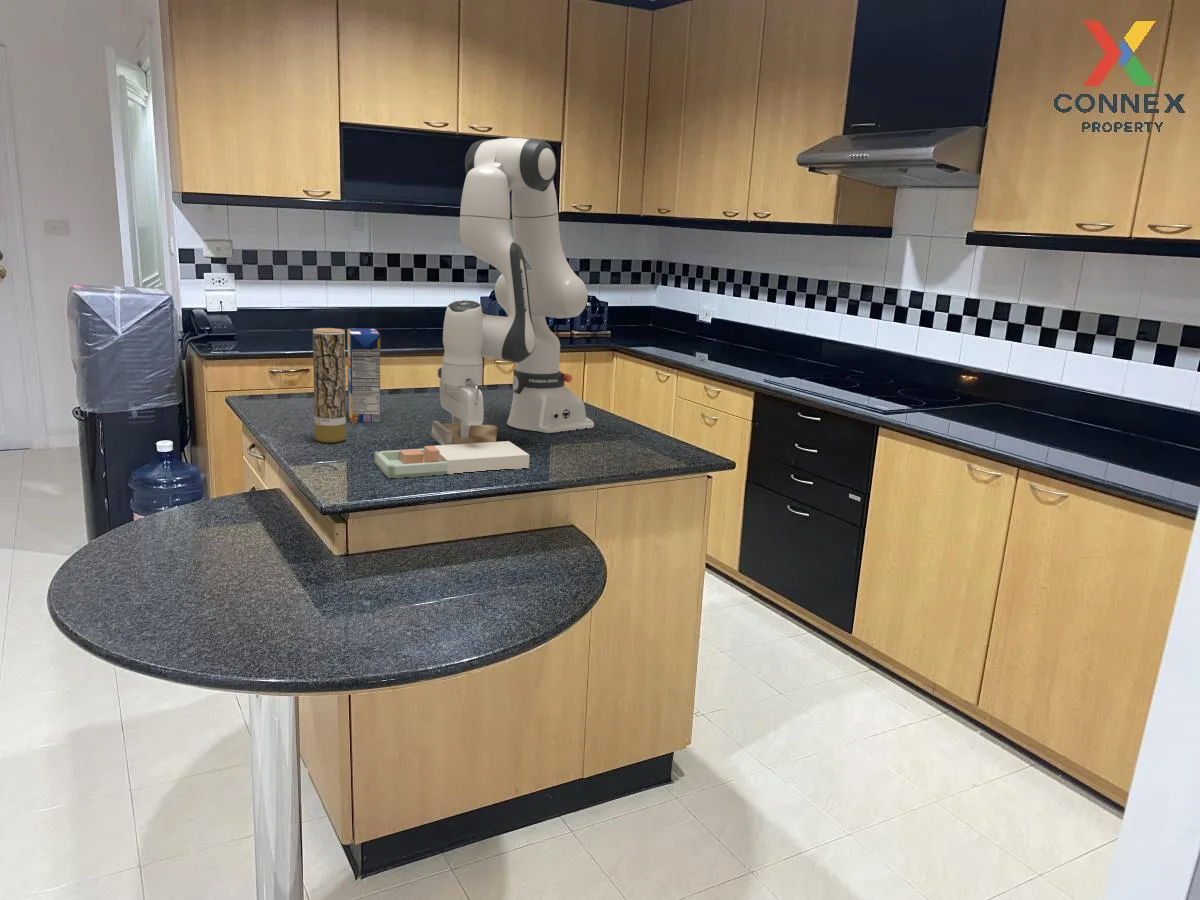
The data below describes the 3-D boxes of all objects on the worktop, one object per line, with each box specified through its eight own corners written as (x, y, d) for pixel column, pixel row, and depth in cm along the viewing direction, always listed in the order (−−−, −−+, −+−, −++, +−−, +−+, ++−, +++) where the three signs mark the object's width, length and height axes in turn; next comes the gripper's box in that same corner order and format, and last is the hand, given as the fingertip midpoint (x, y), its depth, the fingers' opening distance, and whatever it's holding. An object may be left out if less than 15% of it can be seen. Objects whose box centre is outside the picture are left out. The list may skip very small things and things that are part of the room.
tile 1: (399, 450, 187) (399, 459, 187) (404, 455, 183) (404, 464, 184) (418, 449, 188) (418, 458, 189) (423, 453, 185) (423, 463, 185)
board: (508, 454, 200) (508, 441, 199) (528, 468, 190) (529, 454, 189) (430, 459, 192) (430, 445, 191) (447, 474, 181) (447, 460, 181)
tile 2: (433, 445, 184) (424, 446, 183) (439, 450, 181) (429, 451, 180) (433, 464, 185) (424, 464, 184) (439, 469, 182) (429, 470, 181)
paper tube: (337, 445, 198) (335, 333, 192) (309, 441, 199) (306, 330, 193) (351, 438, 204) (350, 329, 198) (324, 435, 206) (322, 327, 199)
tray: (430, 459, 192) (430, 448, 191) (447, 474, 181) (447, 462, 181) (374, 463, 186) (374, 451, 186) (388, 479, 176) (388, 466, 175)
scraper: (485, 437, 209) (487, 420, 208) (502, 449, 199) (504, 431, 198) (431, 436, 203) (432, 418, 202) (445, 448, 193) (447, 430, 192)
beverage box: (351, 423, 218) (350, 334, 213) (348, 413, 228) (347, 328, 223) (380, 423, 221) (380, 334, 215) (375, 413, 231) (375, 328, 225)
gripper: (491, 384, 189) (489, 446, 192) (461, 367, 207) (460, 425, 210) (463, 384, 186) (461, 448, 190) (435, 368, 204) (434, 426, 207)
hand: (460, 436), depth 200 cm, fingers closed on scraper, 2 cm apart
